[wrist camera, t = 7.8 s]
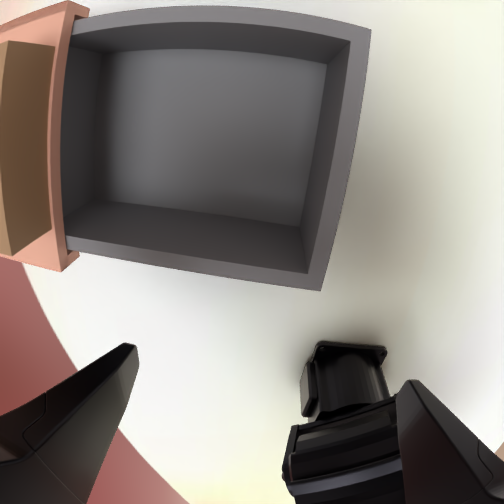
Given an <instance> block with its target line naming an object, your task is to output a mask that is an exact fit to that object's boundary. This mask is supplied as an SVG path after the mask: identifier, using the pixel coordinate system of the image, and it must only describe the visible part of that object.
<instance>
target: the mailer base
mask: <svg viewBox="0 0 504 504" xmlns="http://www.w3.org/2000/svg"><path fill="white" fill-rule="evenodd" d="M370 39H371V29H367V28H364V27H360V26H357V25H353V24H349V23H345V22H341V21H336V20H332V19H327V18H322V17H317V16H312V15H307V14H301V13H294V12H288V11H280V10H272V9H263V8H251V7H237V6H173V7H158V8H147V9H138V10H130V11H122V12H116V13H110V14H104V15H99V16H93V17H89V18H84V19H79V20H75V21H73V26H72V31H71V36H70V42H69V48H68V54H67V61H66V68H65V76H64V86H63V96H62V110H61V130H60V177H61V198H62V212H63V223H64V233H65V241H66V249H69V250H74V251H79V252H84V253H89V254H95V255H100V256H105V257H110V258H116V259H121V260H127V261H132V262H138V263H143V264H149V265H155V266H160V267H166V268H172V269H178V270H184V271H190V272H196V273H202V274H208V275H214V276H220V277H227V278H233V279H240V280H246V281H253V282H259V283H266V284H273V285H279V286H286V287H293V288H300V289H307V290H315V291H321V288H322V284H323V281H324V277H325V273H326V270H327V266H328V262H329V258H330V254H331V251H332V247H333V243H334V239H335V235H336V230H337V226H338V222H339V218H340V214H341V209H342V205H343V200H344V196H345V191H346V187H347V182H348V177H349V172H350V167H351V162H352V157H353V152H354V147H355V141H356V136H357V130H358V124H359V119H360V113H361V106H362V100H363V93H364V87H365V80H366V72H367V65H368V57H369V48H370Z"/></svg>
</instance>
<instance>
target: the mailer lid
mask: <svg viewBox="0 0 504 504" xmlns="http://www.w3.org/2000/svg"><path fill="white" fill-rule="evenodd" d="M89 11H90V9H89V8H87V7H84V6H82V5H79V4H77V3H75V2H72V1H69V0H67V1H64V2H60V3H57V4H54V5H51V6H48V7H45V8H42V9H40V10H37V11H34V12H31V13H29V14H26V15H24V16H21V17H19V18H16V19H14V20H12V21H9V22H7V23H5V24H3V25H0V256H1V257H5V258H8V259H12V260H15V261H19V262H23V263H26V264H30V265H34V266H38V267H42V268H46V269H49V270H53V271H57V272H62V271H63V270H64V269H66V268H67V267H68V266H69V265H70V264H71V263H72V262H74V261H75V260H76V259H77V258H78V257H79V256H80V255H79V251H74V250H69V249H66V241H65V233H64V223H63V212H62V198H61V177H60V130H61V110H62V96H63V86H64V76H65V68H66V61H67V54H68V48H69V42H70V36H71V31H72V26H73V21H75V20H79V19H84V18H88V15H89Z"/></svg>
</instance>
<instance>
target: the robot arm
mask: <svg viewBox="0 0 504 504" xmlns="http://www.w3.org/2000/svg"><path fill="white" fill-rule="evenodd" d="M321 347H324V348H322V349H321ZM381 352H382V353H381ZM386 355H387V350H386V348H385V347H378V346H364V345H351V344H340V343H329V342H320V343H318V344H317V345H316V347H315V350H314V353H313V356H312V359H311V361H310V362H308V363H307V364H306V366H305V369H304V371H303V374H302V377H301V380H300V394H301V415H302V416H303V417H308V423H306V424H302V425H299V424H298V425H293V426H291V431H290V434H289V438H288V443H287V447H286V452H285V456H284V461H283V465H282V472H283V473H282V479H283V480H284V481H285V483H286V486H287V489H288V491H289V493H290V494H291V495H292V496H293V497H294V498H295V503H296V504H504V462H503V461H502V460H501V459H500V458H499V457H498V456H497V455H495V454H494V453H493V452H492V451H491V450H490V449H489V448H488V447H487V446H486V445H485V444H484V443H483V442H482V441H481V440H480V439H478V437H477V436H476V435H475V434H474V433H472V432H471V431H470V430H469V429H468V428H467V427H466V426H465V425H464V424H463V423H462V422H461V421H460V420H459V419H458V418H457V417H456V416H455V415H454V414H453V413H452V412H451V411H450V410H449V409H448V408H447V407H446V406H445V405H444V404H443V403H442V402H441V401H440V400H439V399H438V398H437V397H436V396H434V395H433V394H432V393H431V392H430V391H429V390H428V389H427V388H426V387H425V386H424V385H423V384H422V383H421V382H420V381H419V380H407V381H406V382H405V383H404V385H403V386H402V388H401V390H400V391H399V393H397V394H394V396H392V397H390V394H389V390H388V387H387V384H386V381H385V377H384V374H383V371H382V368H381V365H382V363H383V361H384V359H385V357H386ZM138 369H139V358H138V351H137V347H136V345H134V344H130V343H122V344H121V345H119V346H118V347H116V348H114V349H113V350H111V351H110V352H108V353H106V354H105V355H103V356H102V357H100V358H99V359H97V360H95V361H94V362H92V363H91V364H89V365H87V366H86V367H84V368H83V369H81V370H79V371H78V372H76V373H75V374H73V375H72V376H70V377H68V378H67V379H65V380H64V381H62V382H61V383H59V384H57V385H56V386H54V387H53V388H51V389H49V390H47V391H46V393H45V392H44V393H43V394H41V395H39V396H38V397H36V398H34V399H33V400H31V401H29V402H27V403H26V404H24V405H22V406H20V407H18V408H16V409H14V410H12V411H10V412H8V413H6V414H3V415H1V416H0V504H86V503H87V501H88V498H89V495H90V493H91V490H92V488H93V485H94V483H95V480H96V477H97V475H98V473H99V470H100V468H101V466H102V463H103V461H104V458H105V456H106V453H107V451H108V449H109V446H110V444H111V442H112V439H113V437H114V435H115V432H116V430H117V428H118V426H119V423H120V421H121V419H122V416H123V414H124V412H125V410H126V407H127V404H128V401H129V398H130V395H131V391H132V388H133V385H134V382H135V378H136V375H137V372H138Z"/></svg>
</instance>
